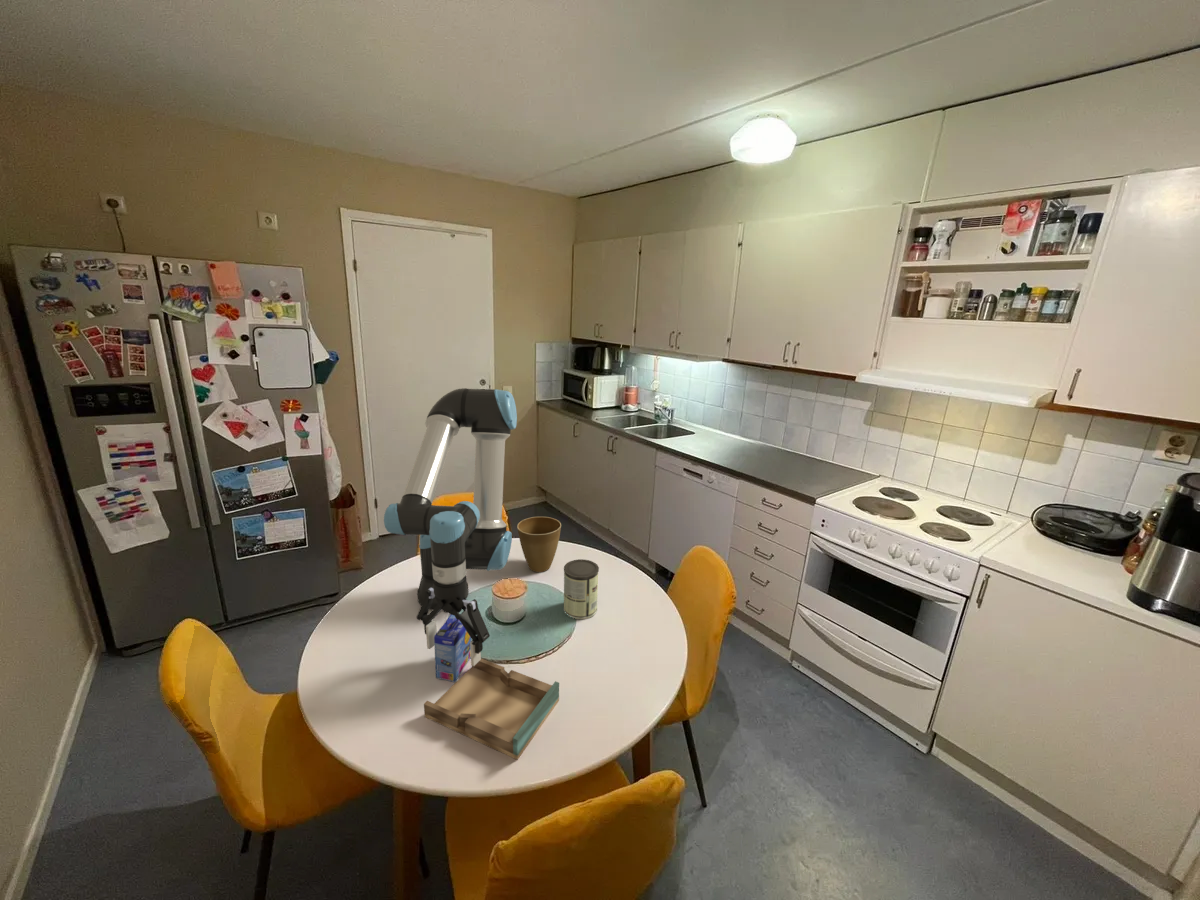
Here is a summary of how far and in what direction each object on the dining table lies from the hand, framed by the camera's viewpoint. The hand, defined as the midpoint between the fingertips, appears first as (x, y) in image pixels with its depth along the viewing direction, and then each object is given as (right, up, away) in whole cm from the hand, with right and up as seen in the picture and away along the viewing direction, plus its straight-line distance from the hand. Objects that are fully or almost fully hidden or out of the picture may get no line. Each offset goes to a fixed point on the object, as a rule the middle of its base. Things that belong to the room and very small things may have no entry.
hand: (453, 654), depth 119 cm
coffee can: (+30, +2, +27) cm, 40 cm away
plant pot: (+15, +9, +50) cm, 53 cm away
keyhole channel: (+12, -8, -11) cm, 18 cm away
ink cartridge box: (0, -4, +1) cm, 4 cm away
